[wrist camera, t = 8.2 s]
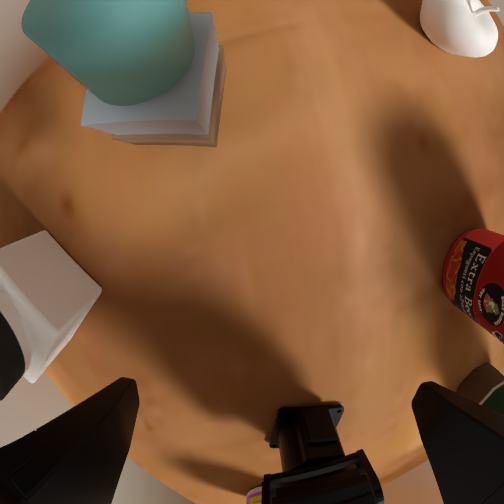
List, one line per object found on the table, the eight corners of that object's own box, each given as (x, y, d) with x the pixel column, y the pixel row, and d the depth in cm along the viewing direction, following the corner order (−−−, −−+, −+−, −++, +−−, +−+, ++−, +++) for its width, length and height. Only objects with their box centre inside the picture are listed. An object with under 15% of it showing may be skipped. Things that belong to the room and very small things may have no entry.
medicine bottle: (45, 227, 18) (-69, 277, 6) (105, 288, 19) (12, 386, 8) (19, 285, 19) (-66, 347, 7) (71, 339, 21) (1, 428, 9)
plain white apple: (466, 79, 16) (527, 64, 8) (404, 41, 15) (463, 5, 7) (462, 26, 14) (512, 4, 6) (404, -10, 13) (449, -48, 5)
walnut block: (216, 147, 17) (210, 139, 13) (136, 144, 17) (111, 138, 13) (226, 70, 16) (223, 45, 12) (147, 70, 15) (127, 49, 12)
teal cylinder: (212, 25, 8) (204, -67, 3) (166, 115, 9) (114, 34, 4) (120, 16, 8) (81, -54, 3) (72, 99, 8) (-3, 45, 3)
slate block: (208, 134, 13) (196, 120, 9) (117, 135, 13) (80, 125, 9) (219, 49, 12) (212, 12, 8) (131, 53, 12) (102, 24, 8)
